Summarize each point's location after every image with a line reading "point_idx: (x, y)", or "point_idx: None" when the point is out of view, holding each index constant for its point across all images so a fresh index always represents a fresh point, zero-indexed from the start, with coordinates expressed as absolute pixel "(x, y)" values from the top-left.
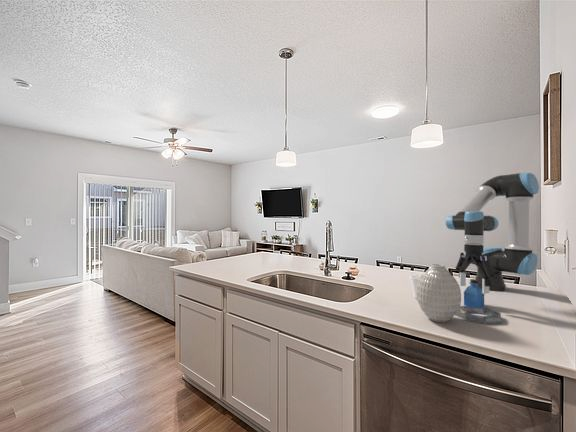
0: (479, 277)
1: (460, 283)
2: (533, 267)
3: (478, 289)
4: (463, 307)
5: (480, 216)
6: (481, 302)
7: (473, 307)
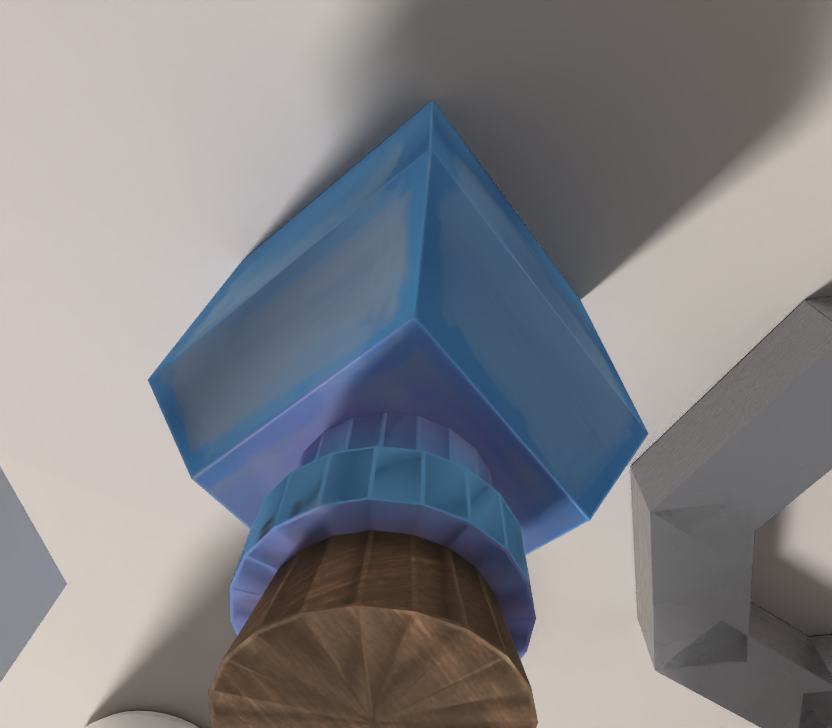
0: None
1: (22, 640)
2: None
3: (559, 446)
4: (720, 627)
5: None
6: (526, 239)
7: (751, 513)
